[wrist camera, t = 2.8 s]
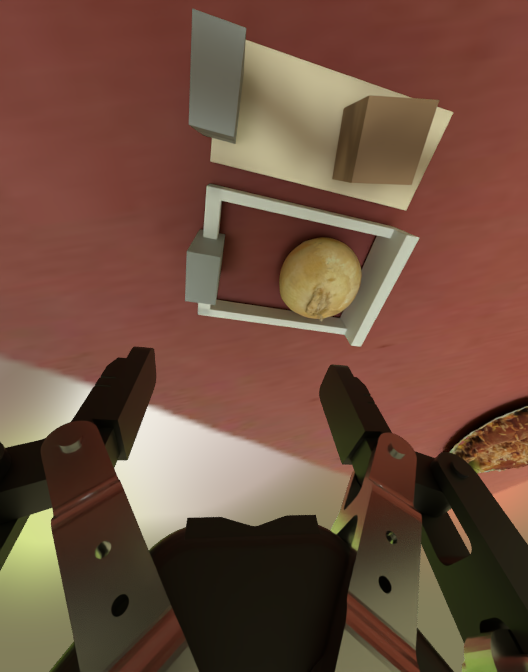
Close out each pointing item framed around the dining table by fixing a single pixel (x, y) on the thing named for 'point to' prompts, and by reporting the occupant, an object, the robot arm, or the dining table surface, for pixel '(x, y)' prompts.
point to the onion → (320, 278)
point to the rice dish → (497, 443)
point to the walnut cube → (383, 139)
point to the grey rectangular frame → (353, 323)
